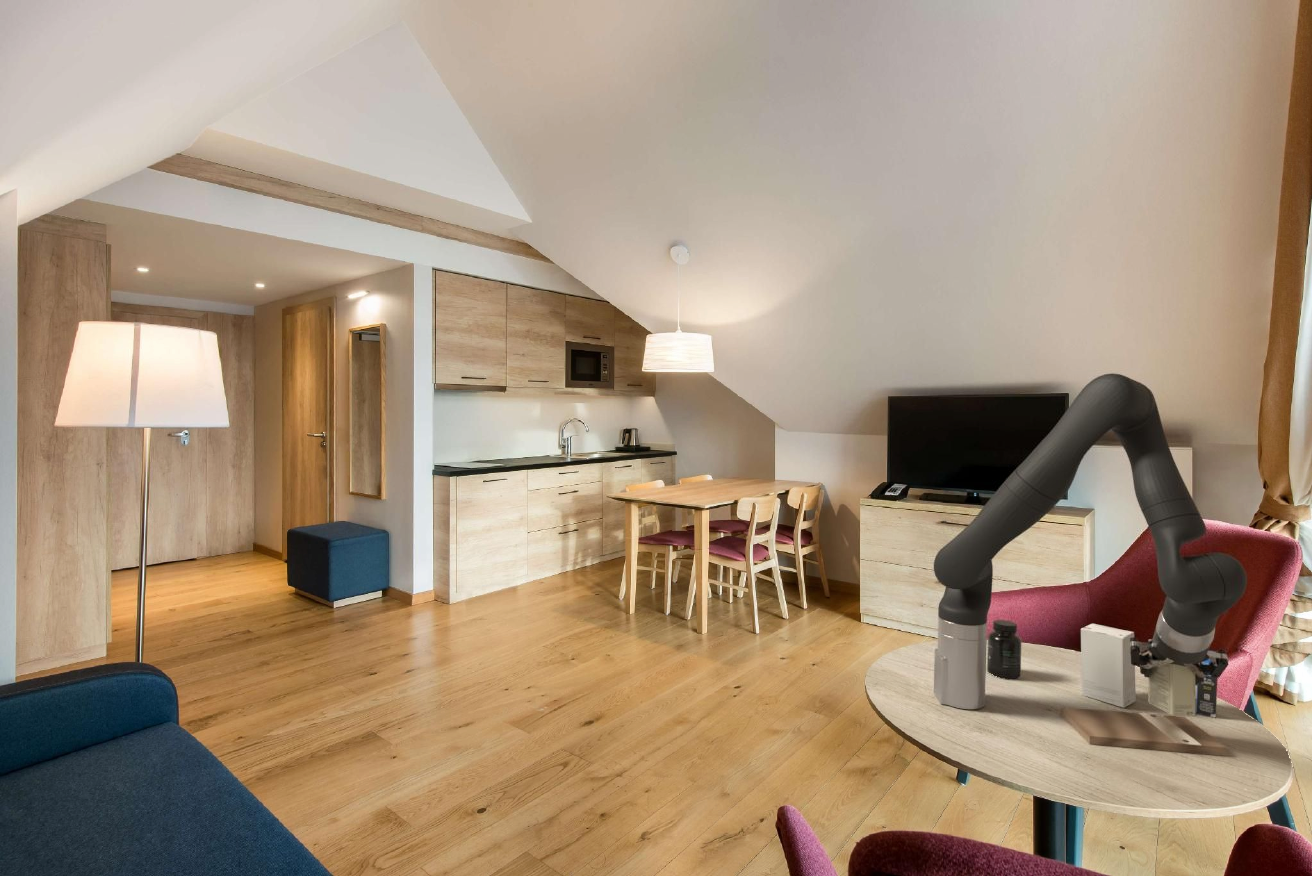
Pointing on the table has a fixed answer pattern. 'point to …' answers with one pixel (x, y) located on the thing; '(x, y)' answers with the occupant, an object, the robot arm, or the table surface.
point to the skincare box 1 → (1107, 665)
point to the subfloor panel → (1142, 731)
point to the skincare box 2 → (1172, 689)
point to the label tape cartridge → (1206, 695)
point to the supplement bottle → (1004, 650)
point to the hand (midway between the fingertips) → (1169, 676)
